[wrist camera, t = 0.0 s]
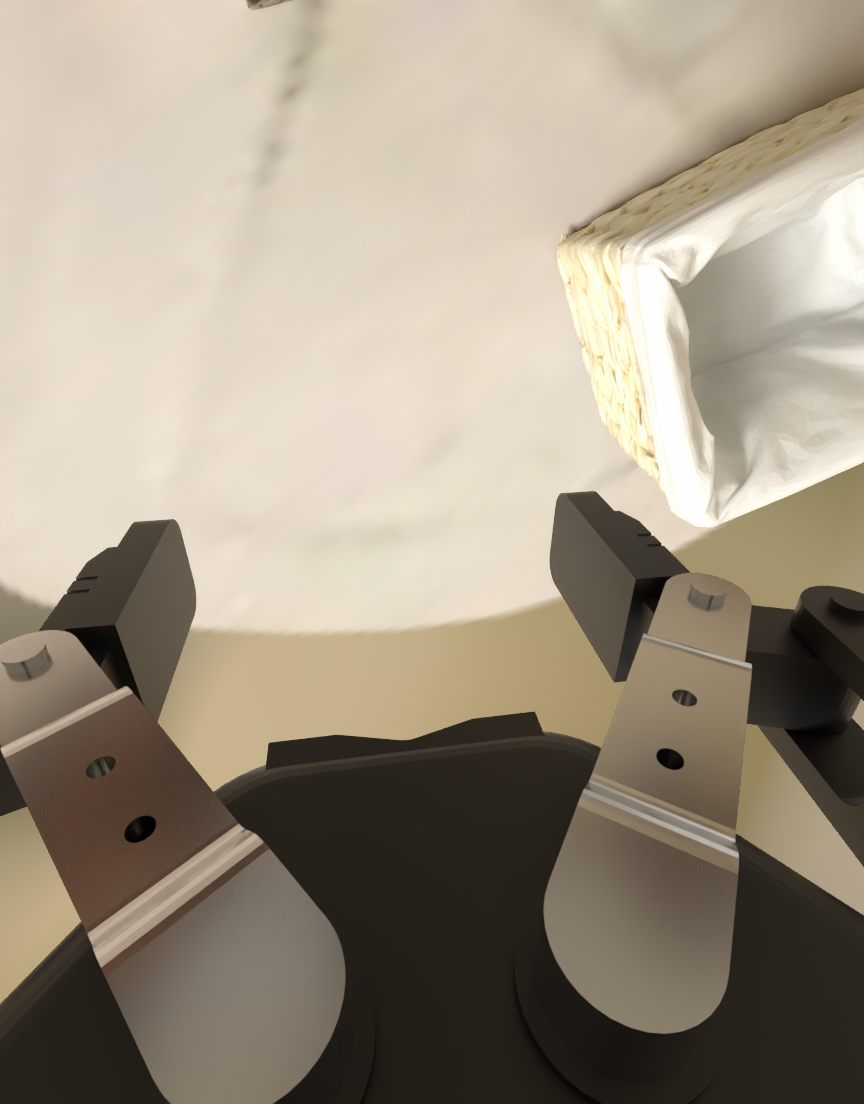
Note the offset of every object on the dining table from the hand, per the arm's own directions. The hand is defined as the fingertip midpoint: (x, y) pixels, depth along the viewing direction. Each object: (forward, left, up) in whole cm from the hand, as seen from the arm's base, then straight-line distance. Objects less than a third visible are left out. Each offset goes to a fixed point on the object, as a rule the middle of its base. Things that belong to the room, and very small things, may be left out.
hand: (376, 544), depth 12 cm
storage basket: (-2, +26, -30) cm, 39 cm away
